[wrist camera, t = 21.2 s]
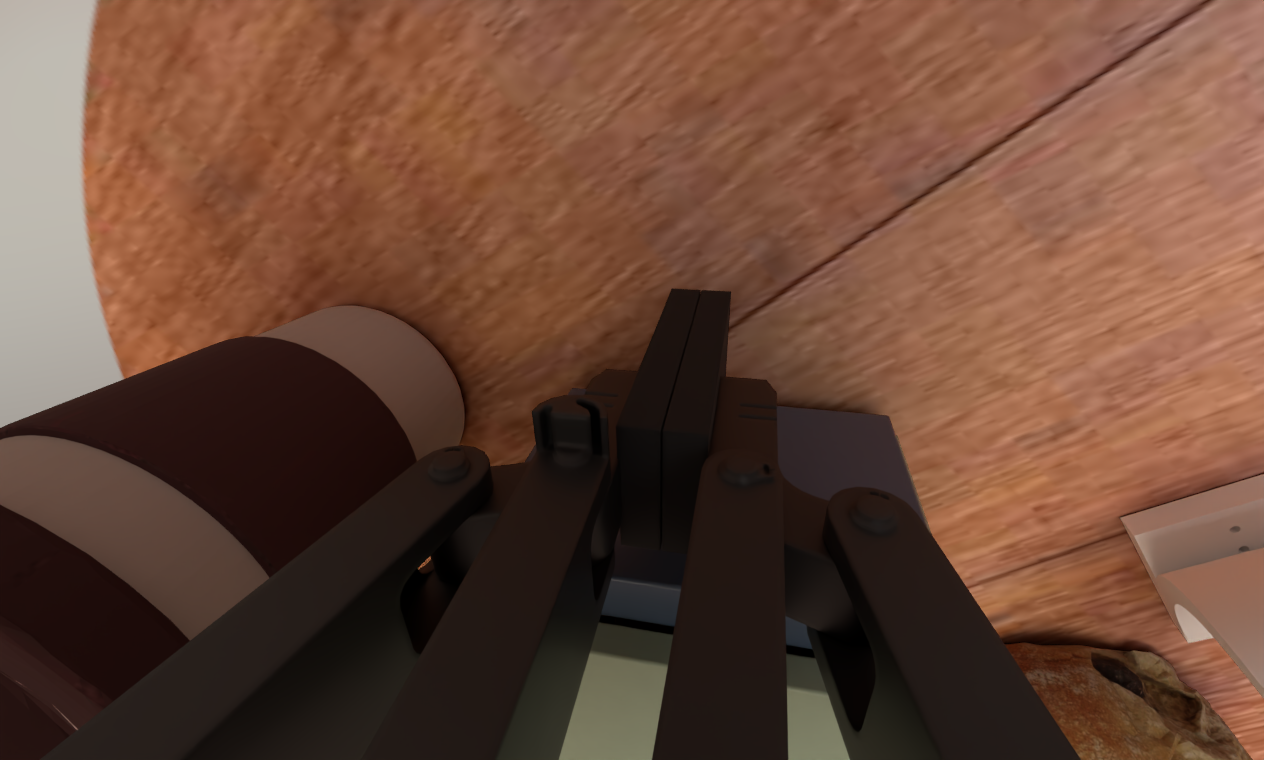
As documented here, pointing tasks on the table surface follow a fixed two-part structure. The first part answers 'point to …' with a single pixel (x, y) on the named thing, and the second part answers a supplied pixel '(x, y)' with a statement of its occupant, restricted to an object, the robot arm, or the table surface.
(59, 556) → the coffee cup
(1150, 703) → the bread roll
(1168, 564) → the white curved strip
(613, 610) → the drawer
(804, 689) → the cabinet
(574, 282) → the table surface
